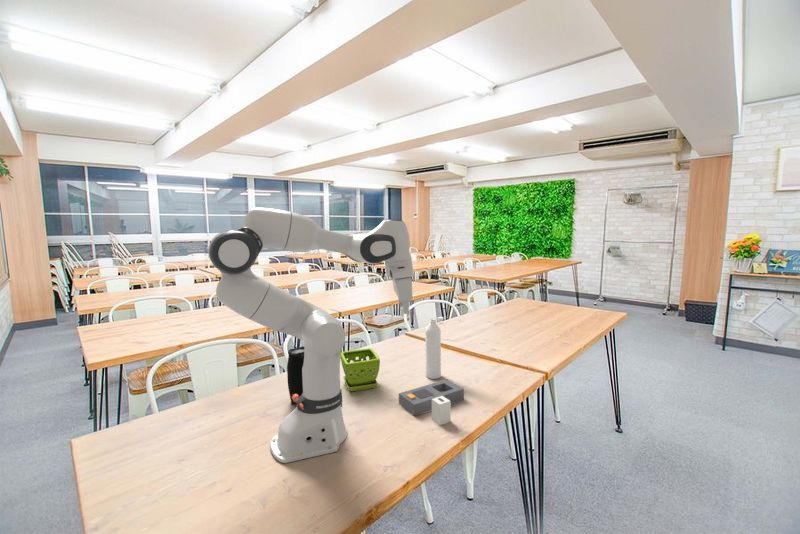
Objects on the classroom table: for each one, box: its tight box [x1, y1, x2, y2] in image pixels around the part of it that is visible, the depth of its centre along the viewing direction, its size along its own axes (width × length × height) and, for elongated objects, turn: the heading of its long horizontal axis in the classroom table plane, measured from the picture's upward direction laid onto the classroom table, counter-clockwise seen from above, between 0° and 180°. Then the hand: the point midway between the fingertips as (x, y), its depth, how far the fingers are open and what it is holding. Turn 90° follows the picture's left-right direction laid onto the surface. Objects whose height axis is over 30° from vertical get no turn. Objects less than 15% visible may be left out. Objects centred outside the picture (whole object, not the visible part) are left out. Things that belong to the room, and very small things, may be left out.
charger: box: [431, 396, 452, 426], centre depth 119 cm, size 4×4×7 cm
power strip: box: [398, 378, 465, 417], centre depth 132 cm, size 22×10×5 cm, turn 121°
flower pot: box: [340, 347, 381, 392], centre depth 146 cm, size 14×14×13 cm
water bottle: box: [424, 316, 445, 380], centre depth 154 cm, size 9×6×25 cm
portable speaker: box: [286, 345, 304, 406], centre depth 133 cm, size 9×9×20 cm
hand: (404, 309), depth 120 cm, fingers open, 8 cm apart
